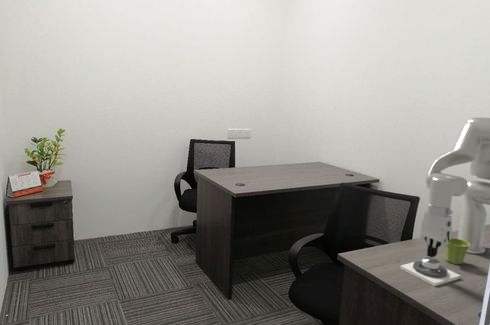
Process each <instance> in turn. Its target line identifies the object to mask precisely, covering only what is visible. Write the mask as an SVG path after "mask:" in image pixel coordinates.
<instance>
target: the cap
mask: <svg viewBox="0 0 490 325" xmlns="http://www.w3.org/2000/svg"><path fill="white" fill-rule="evenodd" d="M421 260H422V265H421V268H422V269H424V270H426V271H430V272H438V271H439V265H441V262H440V260H438V259H436V258H434V257H430V256H424V257H422V259H421Z"/></svg>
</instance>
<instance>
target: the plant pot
mask: <svg viewBox="0 0 490 325" xmlns="http://www.w3.org/2000/svg"><path fill="white" fill-rule="evenodd" d="M469 246H470V243H468V242H466V241H464V240H461V239H458V238H454V237H451V240H450V241H448V246H445V260H446V261H447V262H449V263H451V264H454V265H459V264H460V265H462V264H463V262H464V259H465V258H466V253H467V252H466V251H467V249H468V247H469Z"/></svg>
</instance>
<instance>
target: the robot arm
mask: <svg viewBox="0 0 490 325" xmlns="http://www.w3.org/2000/svg"><path fill="white" fill-rule="evenodd" d="M467 163H470V166H469V167H470V169H469V172H470V175H471V177H474V178H477V179H482V180H487V181H490V117H470V118H469V119H467V121H466V123H465V124H464V125H463V127H462V128H461V131H460V132H459V134H458V137H457V139H456V141H455V144H454V145H453V148H452V150H450V151H449V152H446V153H445V154H443V155H442V156H440V157H439V158H437V159H436V160H435V161H434V162H433V163H432V165H431V167H430V169H429V171H428V173H427V175H426V177H425V187H426V189H428V190H429V193H428V200H427V207H426V210H425V211H424V214H423V216H422V220H421V224H420V231H419V232H420V237H421V238H423V239H424V241H425V242H426V245H427V252H426V257H430V258H434V257H437V255H438V249H439V247H441V246H442V247H446V246H448V241H450V240H451V238H452V233H453V220H452V218H453V217H452V215H453V213H454V211H453V210H451V206H452V198H453V197H461V196H462V209H461V216H460V221H459V222H460V223H459V228H458V234H457V239H461V240H464V241H466V242H468V243H470V246H469V247H468V249H467V251H466V253H467V254H468V253H469V254H475V255H479V254H480V255H481V254H482V255H483V254H484V253H486V248H484V246H483V244H485V243H487V240H486V239H485V238H484V235H485V227H486V222H487V216H488V214H487V210H486V207H485V206H484V205H486V206H487V205H488V206H490V182H487V181H481V180H474V179H473V180H467V179H466V178H464V177H463V176H459V175H454V174H448V173H443V171H444V170H446V169H448V168H450V167H453V166H458V165H463V164H467Z"/></svg>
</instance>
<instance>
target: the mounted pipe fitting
mask: <svg viewBox="0 0 490 325" xmlns="http://www.w3.org/2000/svg"><path fill="white" fill-rule="evenodd" d="M421 265H422V259H421V260H417V261H414V262H412V261H411V262H409V263H405V264H401V265H399V269H400V270H402V271H404V272H406V273H408V274H410V275H412V276H414V277H416V278H418V279H419V280H422V281H424V282H425V283H427V284H429V285H431V286H433V287H437V286H440V285H443V284H447V283H449V282H450V283H451V282H453V281H456V280H459V279H461V276H462V275H461V274H458V273H456V272H454V271H452V270H450V269H448V268H446V267H445V266H443V265H441V264H440V265H439V271H438V272H430V271H426V270H424V269H422V268H421Z"/></svg>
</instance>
